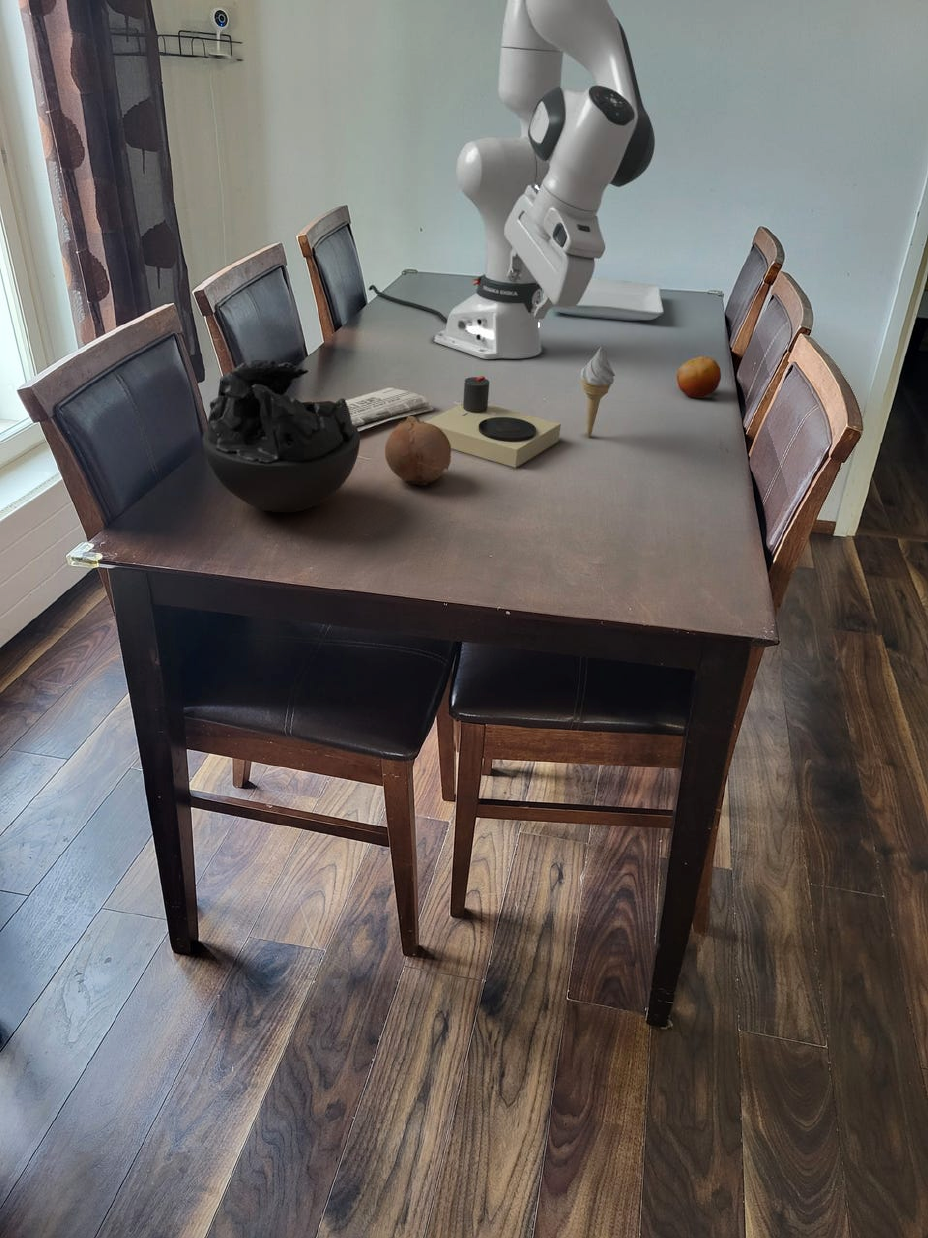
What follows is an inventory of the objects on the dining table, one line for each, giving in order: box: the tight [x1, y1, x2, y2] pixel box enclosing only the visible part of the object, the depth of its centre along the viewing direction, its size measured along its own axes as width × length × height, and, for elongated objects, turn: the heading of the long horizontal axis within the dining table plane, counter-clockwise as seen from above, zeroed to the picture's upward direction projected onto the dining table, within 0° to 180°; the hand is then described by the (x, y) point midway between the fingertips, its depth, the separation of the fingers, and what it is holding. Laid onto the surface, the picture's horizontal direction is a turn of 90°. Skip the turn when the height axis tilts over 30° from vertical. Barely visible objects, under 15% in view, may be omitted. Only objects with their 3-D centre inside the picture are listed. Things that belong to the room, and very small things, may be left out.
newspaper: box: [345, 387, 434, 432], centre depth 154 cm, size 23×12×2 cm, turn 138°
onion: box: [384, 415, 452, 486], centre depth 132 cm, size 10×9×10 cm
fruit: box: [676, 356, 722, 399], centre depth 172 cm, size 8×8×8 cm
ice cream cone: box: [579, 345, 616, 438], centre depth 148 cm, size 6×6×15 cm
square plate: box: [549, 277, 665, 322], centre depth 223 cm, size 27×27×4 cm
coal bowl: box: [201, 358, 361, 513], centre depth 120 cm, size 20×20×19 cm
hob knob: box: [462, 375, 490, 413], centre depth 150 cm, size 4×4×5 cm
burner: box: [478, 417, 536, 442], centre depth 144 cm, size 9×9×1 cm
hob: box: [424, 401, 561, 469], centre depth 148 cm, size 18×15×3 cm
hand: (524, 297), depth 142 cm, fingers open, 8 cm apart
